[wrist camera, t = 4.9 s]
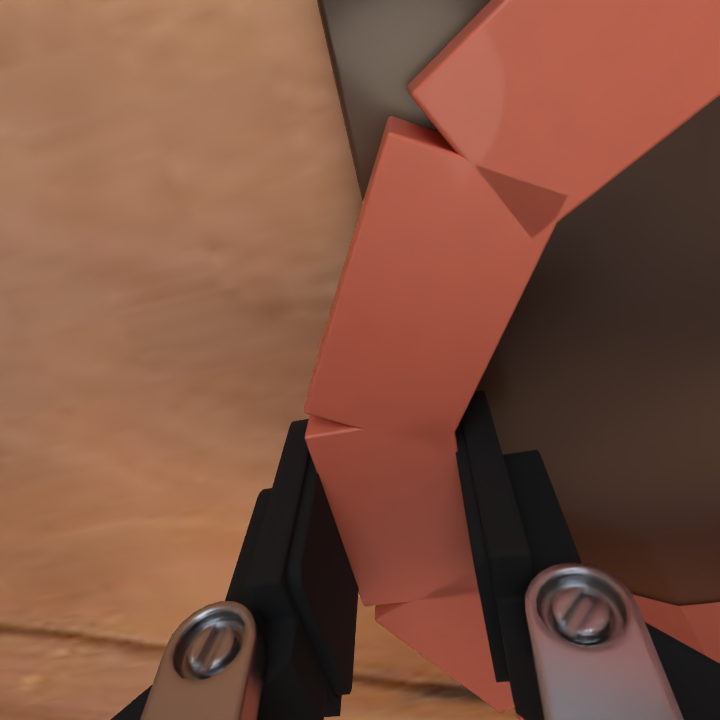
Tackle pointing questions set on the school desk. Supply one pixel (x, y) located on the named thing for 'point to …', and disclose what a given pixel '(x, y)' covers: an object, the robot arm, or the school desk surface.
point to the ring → (480, 284)
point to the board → (590, 321)
